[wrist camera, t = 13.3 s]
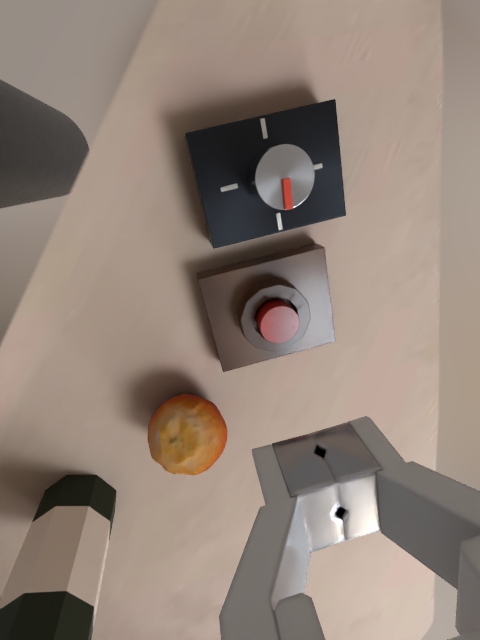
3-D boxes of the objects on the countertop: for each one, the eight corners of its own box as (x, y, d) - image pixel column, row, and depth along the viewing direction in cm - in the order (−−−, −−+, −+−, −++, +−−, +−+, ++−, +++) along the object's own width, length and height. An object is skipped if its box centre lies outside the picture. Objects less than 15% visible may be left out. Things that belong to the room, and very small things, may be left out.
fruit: (202, 469, 42) (174, 503, 34) (158, 417, 43) (121, 438, 35) (251, 423, 40) (235, 448, 33) (204, 371, 42) (177, 383, 34)
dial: (241, 152, 28) (252, 148, 24) (295, 143, 29) (314, 138, 25) (249, 209, 30) (260, 215, 26) (299, 200, 30) (318, 205, 27)
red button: (260, 339, 34) (264, 348, 33) (252, 305, 33) (256, 312, 31) (296, 329, 34) (302, 337, 33) (290, 295, 33) (296, 301, 31)
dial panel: (210, 242, 34) (213, 249, 31) (184, 136, 30) (185, 132, 27) (332, 212, 34) (346, 215, 32) (321, 105, 31) (336, 98, 28)
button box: (220, 361, 38) (225, 381, 35) (196, 273, 34) (199, 285, 31) (327, 332, 39) (342, 349, 36) (316, 242, 35) (332, 250, 32)
